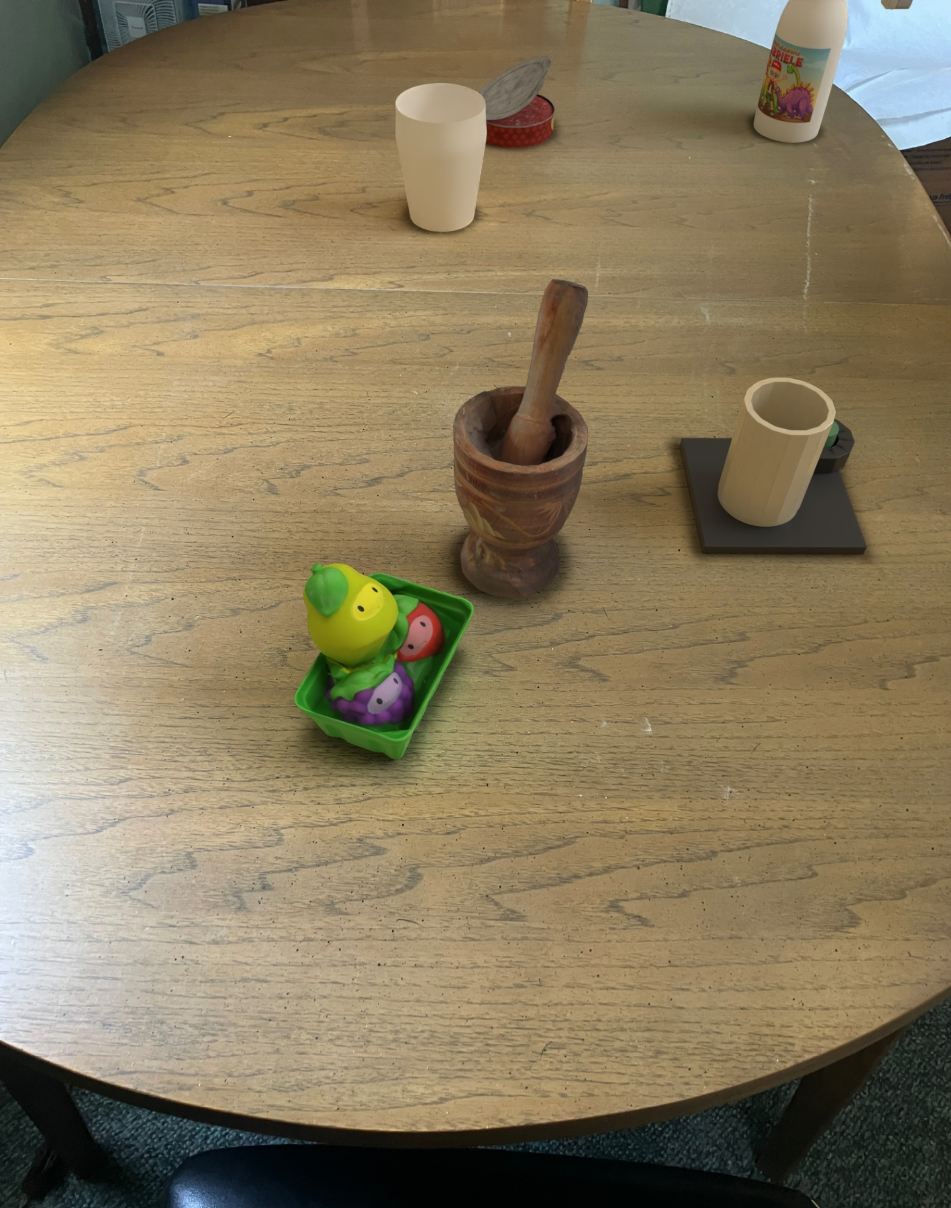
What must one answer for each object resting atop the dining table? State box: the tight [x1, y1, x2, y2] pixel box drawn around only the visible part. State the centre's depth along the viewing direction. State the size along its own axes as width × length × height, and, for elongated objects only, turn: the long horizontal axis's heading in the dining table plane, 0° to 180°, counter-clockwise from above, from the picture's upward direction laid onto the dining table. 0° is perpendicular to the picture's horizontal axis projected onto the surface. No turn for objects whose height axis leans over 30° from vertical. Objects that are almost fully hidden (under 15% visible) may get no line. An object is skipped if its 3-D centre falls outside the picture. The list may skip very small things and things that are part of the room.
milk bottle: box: [753, 0, 849, 144], centre depth 107 cm, size 8×8×20 cm
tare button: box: [823, 421, 839, 448], centre depth 75 cm, size 2×2×1 cm
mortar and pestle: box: [452, 278, 589, 599], centre depth 63 cm, size 12×9×20 cm
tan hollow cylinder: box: [717, 377, 837, 527], centre depth 69 cm, size 6×6×9 cm
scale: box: [679, 418, 868, 555], centre depth 74 cm, size 13×13×3 cm
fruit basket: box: [293, 562, 475, 760], centre depth 58 cm, size 11×9×11 cm
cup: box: [394, 82, 487, 233], centre depth 96 cm, size 9×9×12 cm
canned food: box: [478, 55, 556, 149], centre depth 111 cm, size 11×10×10 cm
